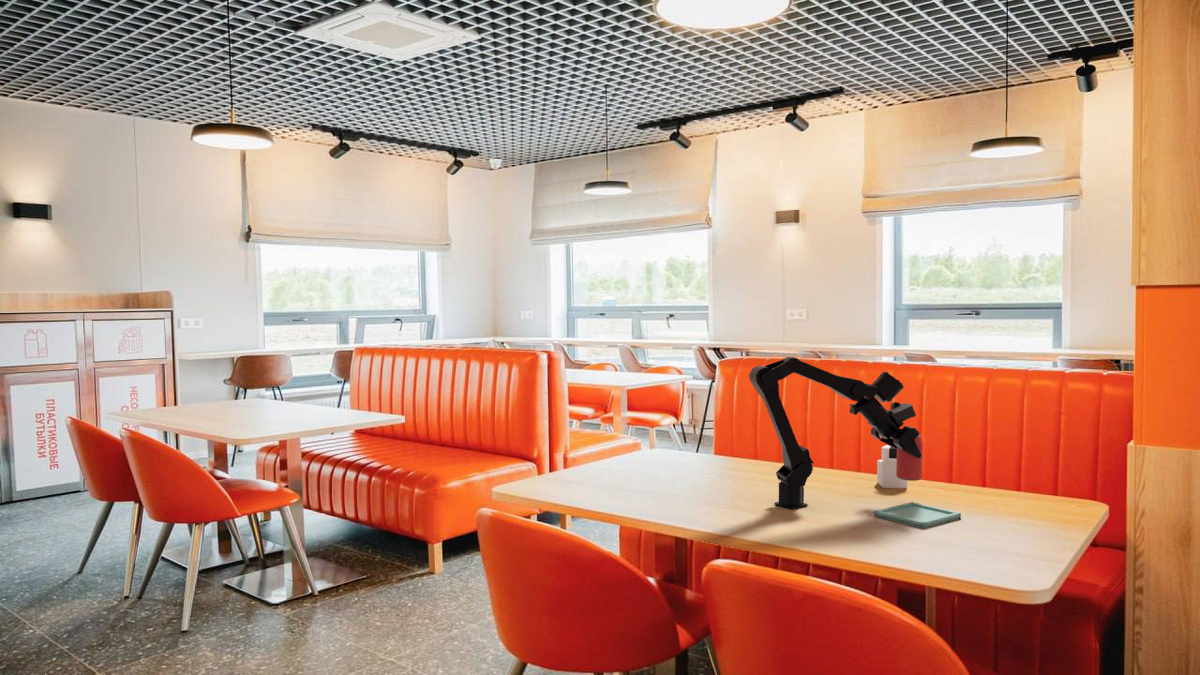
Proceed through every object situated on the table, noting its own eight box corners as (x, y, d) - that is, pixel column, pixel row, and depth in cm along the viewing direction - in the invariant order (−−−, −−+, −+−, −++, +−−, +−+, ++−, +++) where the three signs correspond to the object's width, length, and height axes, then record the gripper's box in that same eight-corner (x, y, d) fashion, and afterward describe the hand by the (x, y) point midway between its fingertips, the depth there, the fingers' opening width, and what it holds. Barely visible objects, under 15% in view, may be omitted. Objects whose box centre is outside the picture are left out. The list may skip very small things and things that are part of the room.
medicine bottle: (901, 483, 248) (901, 444, 247) (907, 488, 241) (908, 448, 240) (876, 482, 249) (877, 443, 248) (882, 488, 242) (883, 447, 241)
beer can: (923, 481, 220) (924, 437, 219) (897, 480, 222) (898, 436, 221) (920, 476, 226) (921, 433, 226) (894, 475, 228) (896, 432, 227)
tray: (923, 528, 198) (923, 522, 198) (874, 516, 210) (874, 510, 210) (960, 518, 207) (960, 513, 207) (911, 507, 219) (911, 502, 219)
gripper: (913, 397, 213) (952, 439, 215) (882, 390, 232) (918, 428, 233) (883, 427, 213) (922, 469, 214) (854, 417, 231) (891, 456, 233)
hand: (914, 454), depth 224 cm, fingers closed on beer can, 7 cm apart
